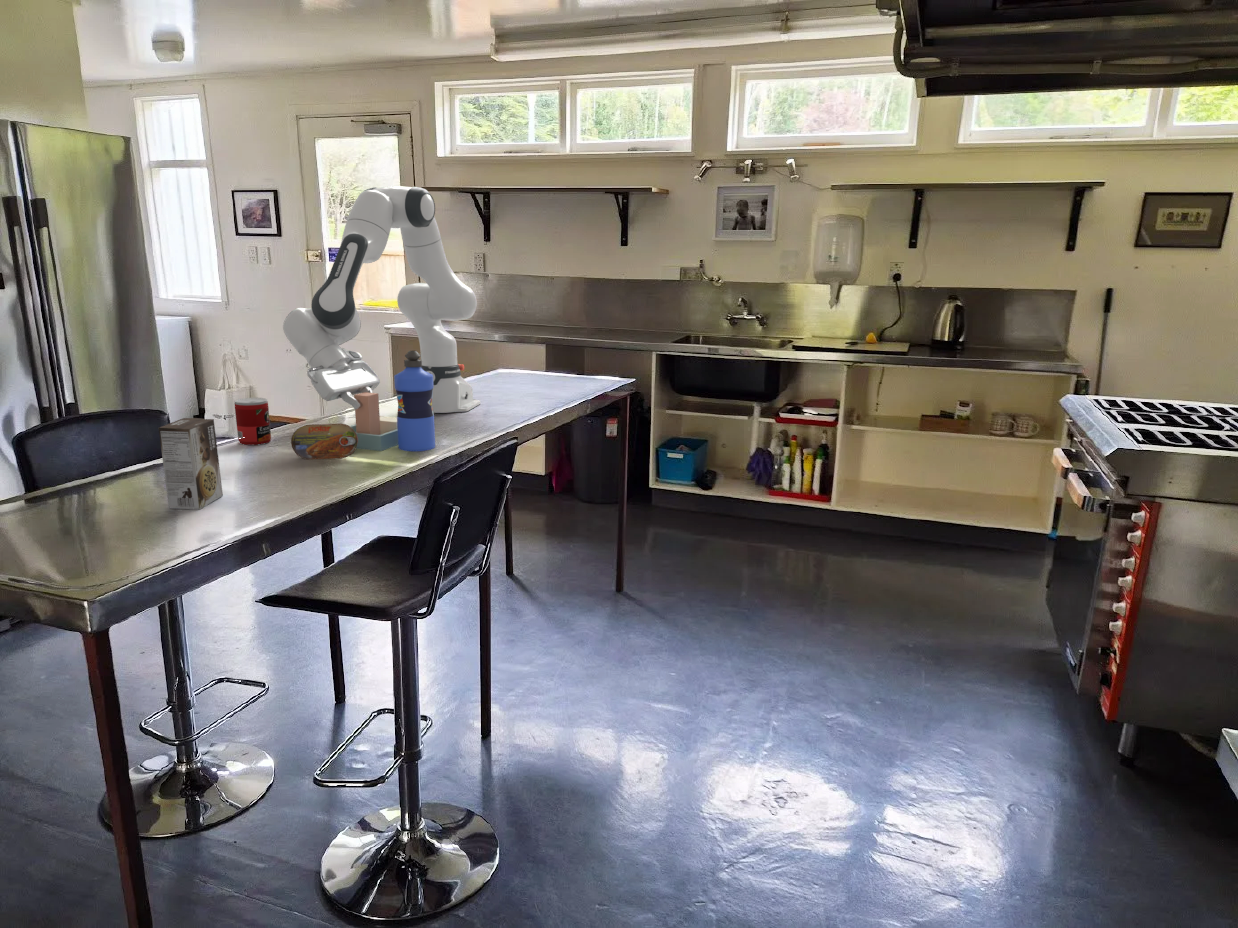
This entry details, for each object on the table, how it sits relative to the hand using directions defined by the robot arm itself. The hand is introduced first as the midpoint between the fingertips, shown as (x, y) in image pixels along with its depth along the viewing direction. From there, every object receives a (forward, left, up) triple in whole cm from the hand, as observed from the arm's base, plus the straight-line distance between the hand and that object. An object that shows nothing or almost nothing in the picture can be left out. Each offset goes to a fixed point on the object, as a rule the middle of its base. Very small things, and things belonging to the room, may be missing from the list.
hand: (366, 405), depth 203 cm
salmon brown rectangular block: (0, 0, -8) cm, 8 cm away
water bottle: (-2, +13, -11) cm, 17 cm away
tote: (-4, 0, -11) cm, 11 cm away
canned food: (+7, -30, -11) cm, 33 cm away
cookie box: (+52, -3, -11) cm, 53 cm away
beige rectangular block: (-8, 0, -10) cm, 13 cm away
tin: (+13, -3, -11) cm, 17 cm away
